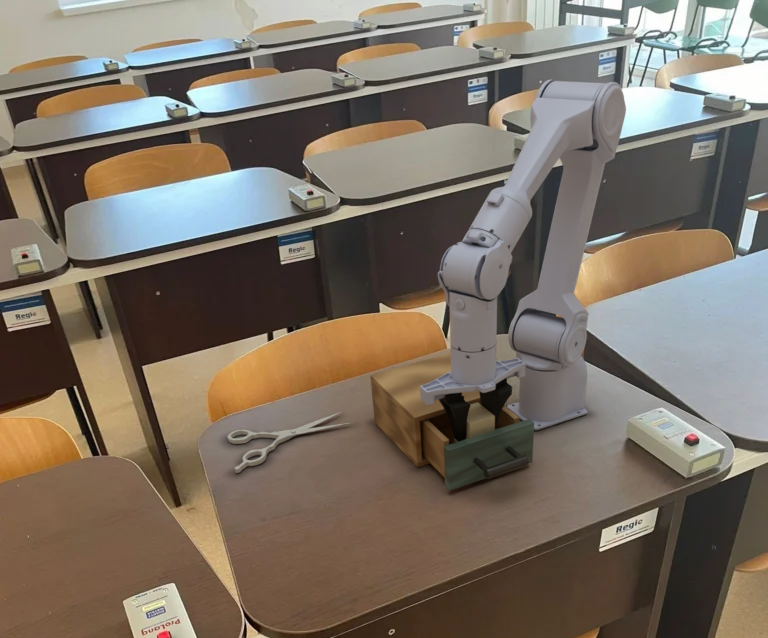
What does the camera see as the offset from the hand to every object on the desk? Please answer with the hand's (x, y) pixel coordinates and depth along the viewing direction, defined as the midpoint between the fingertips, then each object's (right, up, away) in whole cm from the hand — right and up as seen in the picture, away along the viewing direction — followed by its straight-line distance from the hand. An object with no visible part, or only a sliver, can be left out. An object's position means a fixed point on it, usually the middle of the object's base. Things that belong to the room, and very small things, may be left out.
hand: (473, 435), depth 102 cm
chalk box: (0, -1, +1) cm, 1 cm away
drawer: (0, -3, +2) cm, 4 cm away
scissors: (-26, +1, +12) cm, 29 cm away
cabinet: (-4, +2, +11) cm, 12 cm away
